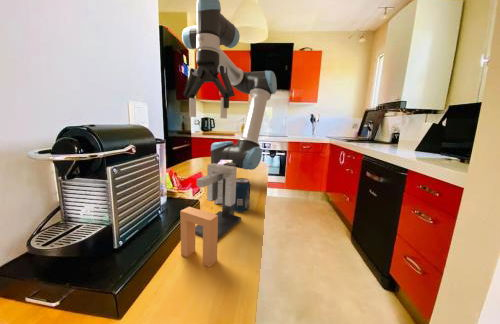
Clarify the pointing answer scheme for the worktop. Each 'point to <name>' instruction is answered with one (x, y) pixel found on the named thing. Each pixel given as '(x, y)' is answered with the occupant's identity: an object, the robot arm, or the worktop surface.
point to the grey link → (229, 186)
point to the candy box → (221, 184)
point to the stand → (227, 215)
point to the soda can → (242, 195)
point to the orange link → (210, 233)
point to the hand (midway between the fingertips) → (207, 117)
